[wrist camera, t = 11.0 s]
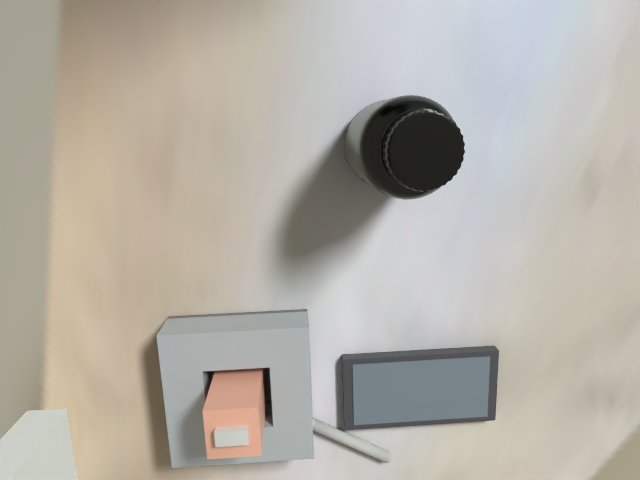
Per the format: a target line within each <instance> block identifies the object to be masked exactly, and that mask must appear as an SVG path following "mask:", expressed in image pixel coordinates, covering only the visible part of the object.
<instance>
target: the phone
mask: <svg viewBox="0 0 640 480" xmlns="http://www.w3.org/2000/svg"><path fill="white" fill-rule="evenodd" d="M498 357H499V350H498V349H497V348H496V347H495V346H482V347H465V348H448V349H430V350H413V351H396V352H378V353H361V354H344V355H342V366H343V405H344V427H345V430H354V429H369V428H384V427H400V426H415V425H430V424H445V423H461V422H476V421H491V420H495V415H496V395H497V376H498Z"/></svg>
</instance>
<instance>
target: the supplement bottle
mask: <svg viewBox="0 0 640 480" xmlns="http://www.w3.org/2000/svg"><path fill="white" fill-rule="evenodd" d="M464 145H465V143H464V142H463V135H462V134H461V132H460V129H459V128H458V127H457V125H456V123H455V122H454V120H453V118H452V117H451V115H450V114H449V113H448V111H447V110H446V109H445V108H444V107H442V106H441V105H440V104H438V103H437V102H435V101H433V100H431V99H429V98H426V97H422V96H413V95H409V96H400V97H396V98H392V99H388V100H384V101H380V102H376V103H374V104H371V105H369V106H367V107H365V108H364V109H363V110H361V111H360V112H359V113H358V114H357V115H356V116H355V117H354V119H353V120H352V121H351V123H350V125H349V127H348V130H347V133H346V137H345V153H346V157H347V160H348V162H349V164H350V166H351V168H352V169H353V171H354V172H355V173H356V174H357V175H358V176H359V177H360V178H361V179H363V180H364V181H365V182H367V183H368V184H370V185H371V186H373V187H374V188H376V189H377V190H379V191H381V192H382V193H384V194H386V195H388V196H391V197H394V198H398V199H416V198H421V197H424V196H427V195H429V194H431V193H433V192H434V191H436V190H437V189H439V188H440V187H441V186H442V185H445V184H446V183H447V182H448V181H450V180H452V178H453V176H455V175H456V174H457V171H458V169H459V168H460V167H461V163H462V161H463V155H464V153H465V150H464Z"/></svg>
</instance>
